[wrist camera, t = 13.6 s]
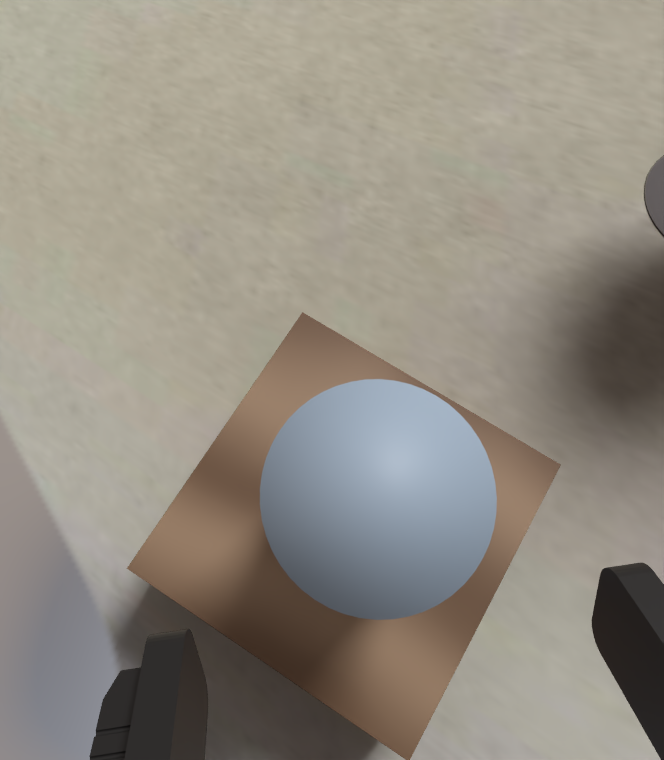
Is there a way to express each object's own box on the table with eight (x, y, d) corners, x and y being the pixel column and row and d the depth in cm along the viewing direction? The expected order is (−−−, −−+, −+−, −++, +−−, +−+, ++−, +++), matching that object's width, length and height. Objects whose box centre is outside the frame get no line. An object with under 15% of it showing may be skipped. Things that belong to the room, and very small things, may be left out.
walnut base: (305, 350, 30) (302, 312, 25) (519, 479, 28) (560, 464, 24) (161, 565, 27) (126, 568, 22) (391, 721, 25) (408, 761, 21)
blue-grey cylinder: (333, 424, 24) (340, 338, 14) (448, 495, 23) (537, 455, 13) (260, 539, 23) (212, 531, 13) (379, 618, 22) (422, 671, 12)
